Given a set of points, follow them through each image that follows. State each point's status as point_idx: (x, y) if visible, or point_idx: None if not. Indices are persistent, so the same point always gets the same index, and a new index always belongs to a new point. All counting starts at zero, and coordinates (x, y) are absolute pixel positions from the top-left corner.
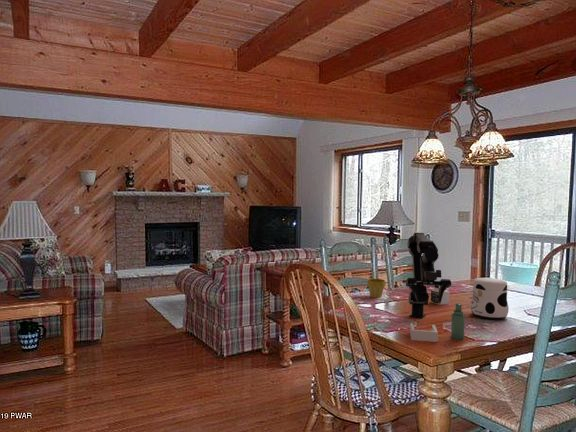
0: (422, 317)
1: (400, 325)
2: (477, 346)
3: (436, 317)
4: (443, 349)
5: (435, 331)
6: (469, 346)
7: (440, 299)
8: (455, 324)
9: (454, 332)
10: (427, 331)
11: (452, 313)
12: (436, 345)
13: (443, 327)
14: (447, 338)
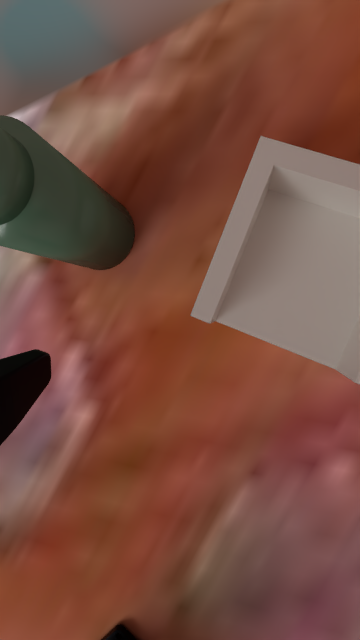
0: (116, 629)
1: (342, 533)
2: (68, 88)
3: (27, 614)
4: (291, 33)
5: (271, 155)
6: (110, 88)
7: (4, 367)
8: (83, 173)
9: (113, 200)
10: (338, 158)
11: (25, 228)
12: (297, 107)
13: (81, 429)
14: (160, 232)
